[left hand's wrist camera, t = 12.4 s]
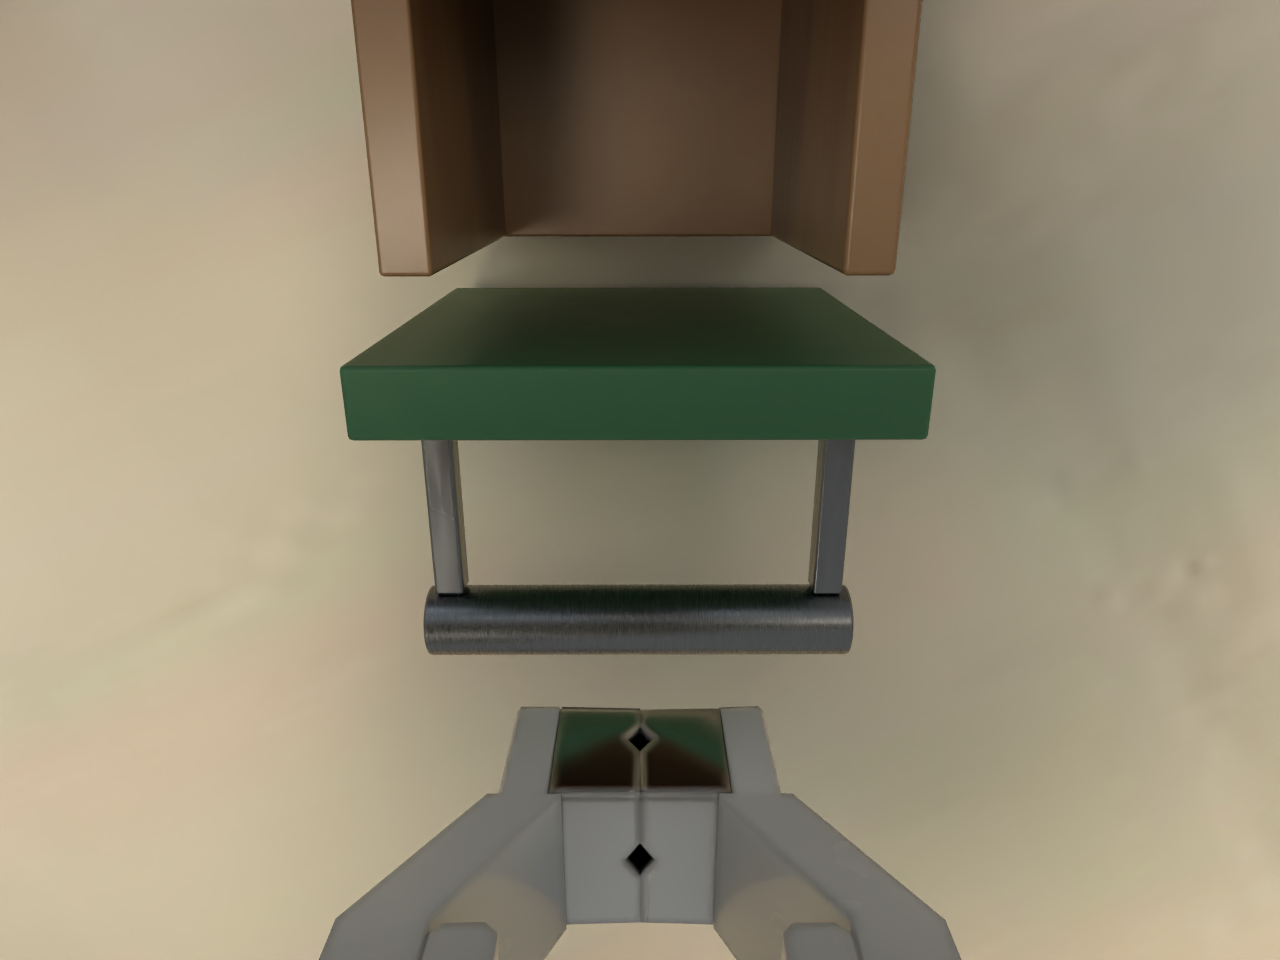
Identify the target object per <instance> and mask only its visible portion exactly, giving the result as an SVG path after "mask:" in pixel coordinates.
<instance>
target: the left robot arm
mask: <svg viewBox="0 0 1280 960" xmlns="http://www.w3.org/2000/svg"><path fill="white" fill-rule="evenodd" d="M629 922H649V923H684V924H714V929H715V930H716V932H717V933H718V934H719V936H720V937H721V939H722V940H723V941H724V943H725V944H726V946H727V947H728V948H729V950H730V951H731V952H732V954H733V955H734V957H735V958H736V959H737V960H961V958H960V955H959V953H958V950H957V948H956V945H955V943H954V940H953V938H952V936H951V933H950V931H949V928H948V926H947V923H946V921H945V919H943V918H942V917H941V916H940V915H939V914H937V913H936V912H935V911H934V910H932V909H931V908H930V907H929V906H928V905H926V904H925V903H924V902H923V901H922V900H920V899H919V898H918V897H917V896H916V895H914V894H913V893H912V892H911V891H910V890H908V889H907V888H906V887H905V886H904V885H902V884H901V883H900V882H899V881H898V880H896V879H895V878H894V877H893V876H891V875H890V874H889V873H888V872H887V871H885V870H884V869H883V868H882V867H881V866H879V865H878V864H877V863H876V862H875V861H873V860H872V859H871V858H870V857H869V856H867V855H866V854H865V853H864V852H863V851H861V850H860V849H859V848H858V847H856V846H855V845H854V844H853V843H852V842H850V841H849V840H848V839H847V838H846V837H844V836H843V835H842V834H841V833H840V832H838V831H837V830H836V829H835V828H834V827H832V826H831V825H830V824H829V823H828V822H826V821H825V820H824V819H823V818H822V817H820V816H819V815H818V814H817V813H815V812H814V811H813V810H812V809H811V808H809V807H808V806H807V805H806V804H805V803H803V802H802V801H801V800H800V799H799V798H797V797H796V796H795V795H794V794H781V791H780V787H779V783H778V778H777V774H776V769H775V765H774V761H773V756H772V752H771V748H770V743H769V739H768V735H767V730H766V726H765V721H764V717H763V713H762V710H761V709H760V708H759V707H758V706H753V707H723V708H719V709H651V710H640V709H632V708H585V707H562V709H561V708H559V707H521V709H520V710H519V711H518V713H517V716H516V721H515V725H514V729H513V734H512V738H511V743H510V747H509V751H508V756H507V760H506V765H505V769H504V773H503V778H502V782H501V787H500V791H499V794H486V795H485V796H484V797H483V798H481V799H480V800H479V801H478V802H477V803H475V804H474V805H473V806H472V807H471V808H469V809H468V810H467V811H466V812H464V813H463V814H462V815H461V816H460V817H458V818H457V819H456V820H455V821H454V822H452V823H451V824H450V825H449V826H448V827H446V828H445V829H444V830H443V831H441V832H440V833H439V834H438V835H437V836H435V837H434V838H433V839H432V840H431V841H429V842H428V843H427V844H426V845H424V846H423V847H422V848H421V849H420V850H418V851H417V852H416V853H415V854H414V855H412V856H411V857H410V858H409V859H408V860H406V861H405V862H404V863H403V864H401V865H400V866H399V867H398V868H397V869H395V870H394V871H393V872H392V873H391V874H389V875H388V876H387V877H386V878H384V879H383V880H382V881H381V882H380V883H378V884H377V885H376V886H375V887H374V888H372V889H371V890H370V891H369V892H367V893H366V894H365V895H364V896H363V897H361V898H360V899H359V900H358V901H357V902H355V903H354V904H353V905H352V906H351V907H349V908H348V909H347V910H346V911H344V912H343V913H342V914H341V915H340V916H338V917H337V918H336V919H335V922H334V924H333V927H332V929H331V932H330V934H329V936H328V939H327V941H326V944H325V946H324V949H323V951H322V953H321V956H320V958H319V960H544V959H545V957H546V956H547V955H548V953H549V952H550V951H551V949H552V948H553V946H554V945H555V944H556V942H557V941H558V940H559V938H560V937H561V935H562V934H563V933H564V931H565V930H566V924H595V923H629Z"/></svg>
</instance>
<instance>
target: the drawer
mask: <svg viewBox="0 0 1280 960" xmlns="http://www.w3.org/2000/svg"><path fill="white" fill-rule="evenodd" d="M351 5H352V15H353V24H354V34H355V43H356V53H357V63H358V72H359V82H360V91H361V101H362V110H363V120H364V129H365V139H366V148H367V158H368V167H369V177H370V186H371V196H372V205H373V215H374V224H375V234H376V243H377V253H378V263H379V272H380V274H381V275H382V276H431V275H433V274H435V273H437V272H439V271H440V270H442V269H444V268H446V267H448V266H450V265H452V264H454V263H455V262H457V261H459V260H461V259H463V258H465V257H467V256H469V255H470V254H472V253H474V252H476V251H478V250H480V249H482V248H483V247H485V246H487V245H489V244H491V243H493V242H495V241H497V240H498V239H500V238H502V237H504V236H774V237H776V238H777V239H779V240H781V241H783V242H785V243H787V244H789V245H791V246H792V247H794V248H796V249H798V250H800V251H802V252H804V253H806V254H807V255H809V256H811V257H813V258H815V259H817V260H819V261H821V262H822V263H824V264H826V265H828V266H830V267H832V268H834V269H836V270H837V271H839V272H841V273H843V274H845V275H891V274H893V273H894V271H895V268H896V258H897V248H898V238H899V228H900V218H901V208H902V198H903V188H904V178H905V168H906V158H907V148H908V138H909V128H910V118H911V108H912V98H913V88H914V78H915V68H916V59H917V49H918V39H919V29H920V19H921V9H922V0H351ZM935 371H936V369H935V366H934V365H932V364H931V363H929V362H928V361H926V360H925V359H923V358H922V357H920V356H919V355H918V354H916V353H915V352H913V351H912V350H910V349H909V348H907V347H906V346H904V345H903V344H901V343H900V342H898V341H897V340H896V339H894V338H893V337H891V336H890V335H888V334H887V333H885V332H884V331H882V330H881V329H879V328H878V327H876V326H875V325H874V324H872V323H871V322H869V321H868V320H866V319H865V318H863V317H862V316H860V315H859V314H857V313H856V312H854V311H853V310H852V309H850V308H849V307H847V306H846V305H844V304H843V303H841V302H840V301H838V300H837V299H835V298H834V297H832V296H831V295H830V294H828V293H827V292H825V291H824V290H822V289H821V288H457V289H455V290H453V291H452V292H451V293H449V294H448V295H446V296H445V297H443V298H442V299H440V300H439V301H437V302H436V303H434V304H433V305H431V306H430V307H428V308H427V309H426V310H424V311H423V312H421V313H420V314H418V315H417V316H415V317H414V318H412V319H411V320H409V321H408V322H406V323H405V324H403V325H402V326H401V327H399V328H398V329H396V330H395V331H393V332H392V333H390V334H389V335H387V336H386V337H384V338H383V339H381V340H380V341H378V342H377V343H376V344H374V345H373V346H371V347H370V348H368V349H367V350H365V351H364V352H362V353H361V354H359V355H358V356H356V357H355V358H353V359H352V360H351V361H349V362H348V363H346V364H345V365H343V366H342V367H341V369H340V376H341V384H342V392H343V400H344V408H345V416H346V424H347V432H348V437H349V439H351V440H421V443H422V453H423V464H424V475H425V485H426V496H427V506H428V517H429V527H430V538H431V548H432V559H433V570H434V580H435V585H434V586H432V587H431V588H430V590H429V592H428V595H427V599H426V603H425V610H424V638H425V644H426V648H427V650H428V652H429V653H430V654H432V655H550V654H846V653H848V652H849V650H850V647H851V644H852V639H853V609H852V602H851V598H850V594H849V591H848V589H847V587H846V586H845V585H842V581H843V570H844V559H845V548H846V537H847V526H848V515H849V504H850V493H851V482H852V471H853V460H854V449H855V440H902V439H925V438H927V435H928V429H929V421H930V412H931V404H932V396H933V388H934V379H935ZM457 440H819V444H818V457H817V471H816V484H815V497H814V511H813V524H812V537H811V551H810V564H809V577H808V581H809V584H793V585H467V584H468V581H469V580H468V567H467V554H466V542H465V529H464V516H463V504H462V491H461V479H460V466H459V453H458V441H457Z"/></svg>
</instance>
